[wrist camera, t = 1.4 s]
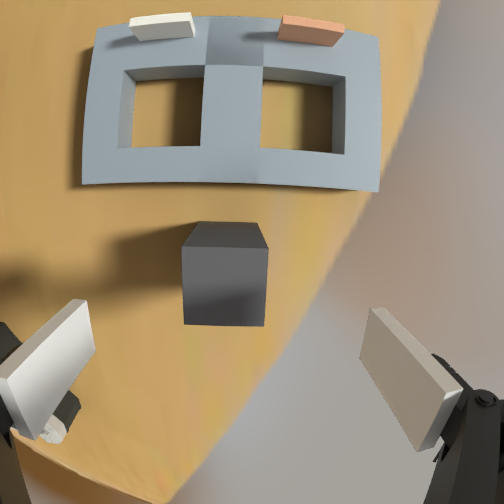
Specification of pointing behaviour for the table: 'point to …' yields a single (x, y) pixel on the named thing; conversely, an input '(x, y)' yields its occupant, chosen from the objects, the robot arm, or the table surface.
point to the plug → (224, 274)
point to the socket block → (233, 100)
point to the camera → (61, 419)
